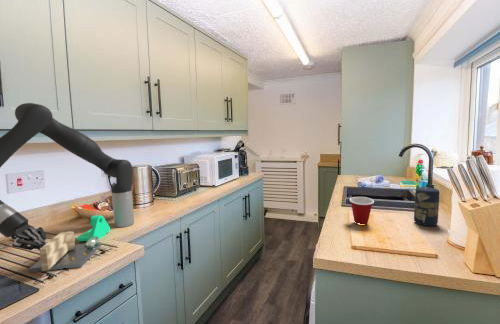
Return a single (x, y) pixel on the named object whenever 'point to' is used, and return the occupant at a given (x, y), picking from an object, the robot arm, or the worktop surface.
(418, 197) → the canister
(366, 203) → the plastic cup
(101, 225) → the camera mount
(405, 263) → the worktop surface
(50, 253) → the zigzag patterned block
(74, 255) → the levelling base
